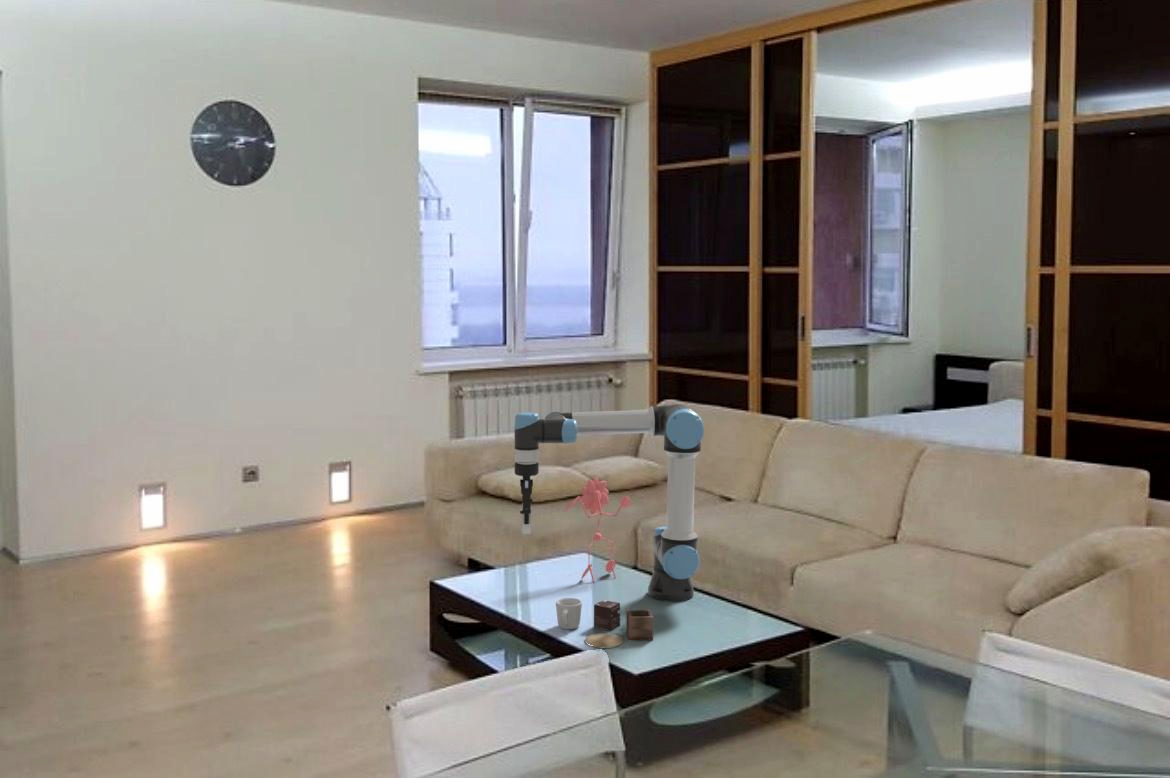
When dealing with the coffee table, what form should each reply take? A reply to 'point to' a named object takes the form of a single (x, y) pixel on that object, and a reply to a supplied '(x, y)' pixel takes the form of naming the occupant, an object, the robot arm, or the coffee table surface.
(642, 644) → the coffee table surface
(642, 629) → the pen pot
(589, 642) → the coaster
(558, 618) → the cup
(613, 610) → the box
